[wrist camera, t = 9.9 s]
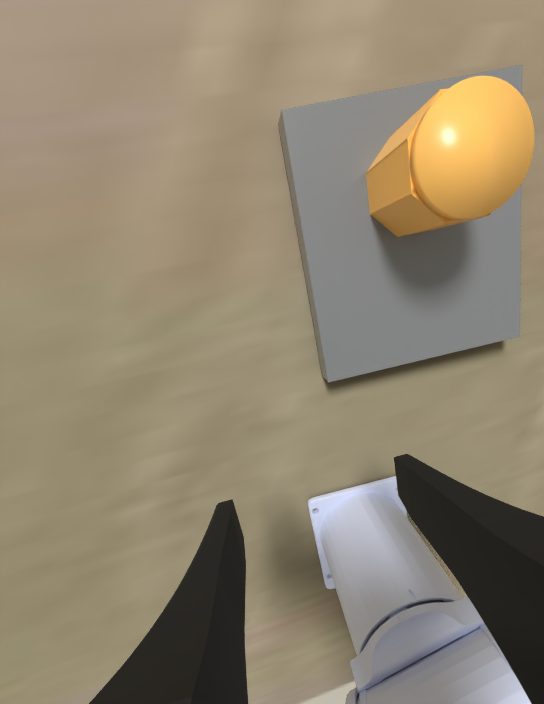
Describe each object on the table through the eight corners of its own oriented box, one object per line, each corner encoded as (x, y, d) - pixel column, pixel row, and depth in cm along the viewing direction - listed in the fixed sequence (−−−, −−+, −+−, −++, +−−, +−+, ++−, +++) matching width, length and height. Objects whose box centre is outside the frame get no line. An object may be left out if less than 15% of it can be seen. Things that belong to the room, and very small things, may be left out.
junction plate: (501, 332, 22) (562, 344, 18) (322, 375, 21) (342, 398, 17) (499, 81, 18) (577, 23, 14) (278, 124, 17) (290, 75, 13)
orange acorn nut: (455, 225, 18) (532, 206, 14) (372, 242, 18) (420, 228, 13) (453, 125, 17) (537, 65, 12) (362, 142, 17) (412, 85, 12)
